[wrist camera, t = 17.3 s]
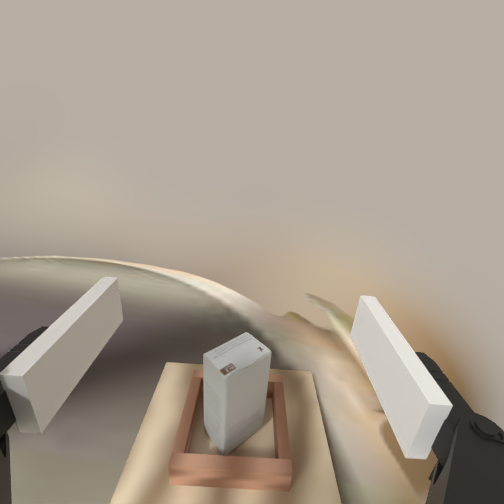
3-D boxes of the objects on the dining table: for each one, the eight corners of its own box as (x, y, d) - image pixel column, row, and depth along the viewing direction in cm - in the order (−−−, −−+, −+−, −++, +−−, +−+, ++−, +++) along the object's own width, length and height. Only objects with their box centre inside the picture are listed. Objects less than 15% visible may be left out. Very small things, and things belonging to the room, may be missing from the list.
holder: (99, 544, 25) (91, 515, 23) (167, 369, 43) (165, 346, 42) (348, 558, 25) (359, 530, 23) (309, 378, 43) (314, 355, 42)
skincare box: (241, 403, 37) (246, 327, 32) (265, 428, 34) (274, 349, 29) (201, 431, 33) (200, 350, 28) (223, 463, 30) (226, 378, 25)
